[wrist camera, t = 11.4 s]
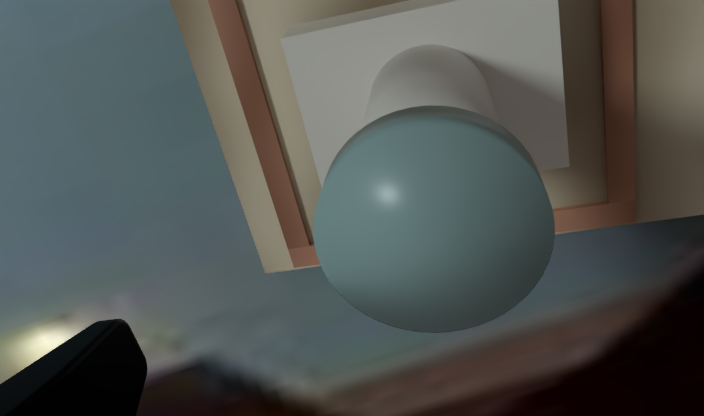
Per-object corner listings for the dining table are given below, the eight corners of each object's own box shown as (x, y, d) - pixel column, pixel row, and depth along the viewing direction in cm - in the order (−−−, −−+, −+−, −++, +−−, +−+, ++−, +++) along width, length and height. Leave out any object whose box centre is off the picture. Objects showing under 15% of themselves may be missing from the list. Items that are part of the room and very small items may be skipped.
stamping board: (1280, -381, 13) (1357, -405, 12) (1093, 143, 18) (1135, 160, 17) (156, -80, 18) (139, -77, 17) (271, 258, 23) (264, 276, 22)
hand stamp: (540, -33, 16) (654, 51, 8) (554, 137, 19) (654, 332, 10) (295, 21, 18) (188, 138, 10) (335, 173, 20) (275, 371, 12)
